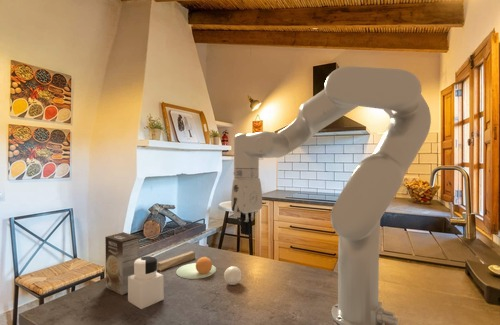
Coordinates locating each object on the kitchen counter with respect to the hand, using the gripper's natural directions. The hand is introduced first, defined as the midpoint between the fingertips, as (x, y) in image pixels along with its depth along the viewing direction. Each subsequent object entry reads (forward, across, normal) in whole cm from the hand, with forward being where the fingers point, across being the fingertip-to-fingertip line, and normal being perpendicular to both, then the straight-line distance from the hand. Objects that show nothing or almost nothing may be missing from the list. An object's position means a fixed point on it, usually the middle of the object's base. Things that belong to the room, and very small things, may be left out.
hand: (246, 233), depth 88 cm
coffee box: (+17, -23, +31) cm, 42 cm away
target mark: (+17, 0, +23) cm, 29 cm away
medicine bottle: (+17, -23, +18) cm, 34 cm away
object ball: (+14, 0, +19) cm, 24 cm away
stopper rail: (+17, 0, +34) cm, 38 cm away
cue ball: (+14, 0, +6) cm, 15 cm away
